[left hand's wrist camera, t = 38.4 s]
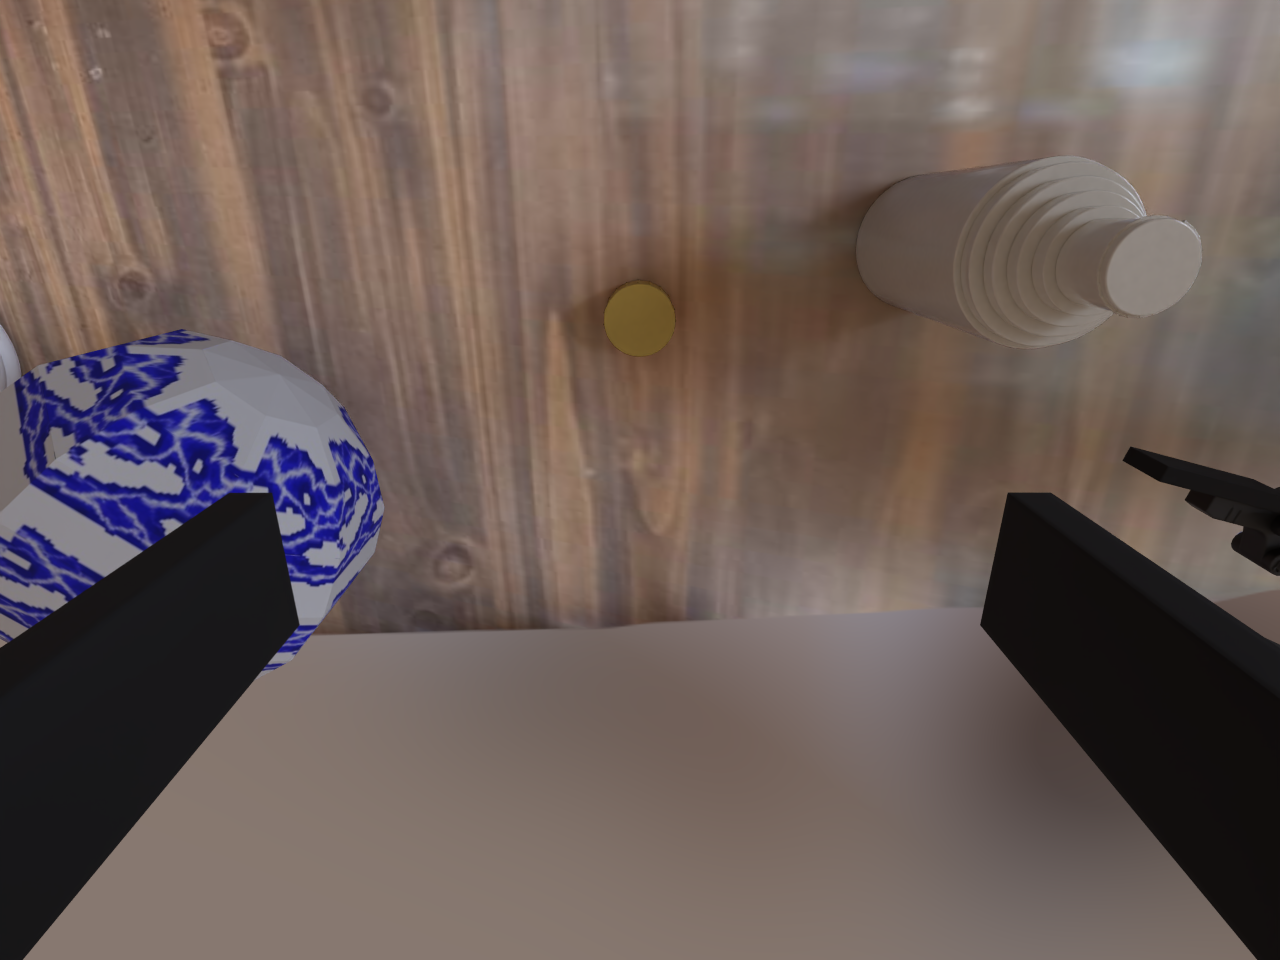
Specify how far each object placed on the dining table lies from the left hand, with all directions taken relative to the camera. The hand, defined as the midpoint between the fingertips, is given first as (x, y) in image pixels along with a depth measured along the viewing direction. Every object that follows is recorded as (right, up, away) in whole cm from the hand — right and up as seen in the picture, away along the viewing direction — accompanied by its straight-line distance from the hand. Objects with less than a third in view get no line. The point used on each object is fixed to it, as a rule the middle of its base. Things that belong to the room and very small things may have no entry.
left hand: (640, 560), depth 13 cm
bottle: (+17, +16, +29) cm, 37 cm away
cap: (0, +11, +29) cm, 31 cm away
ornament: (-25, +3, +34) cm, 43 cm away
